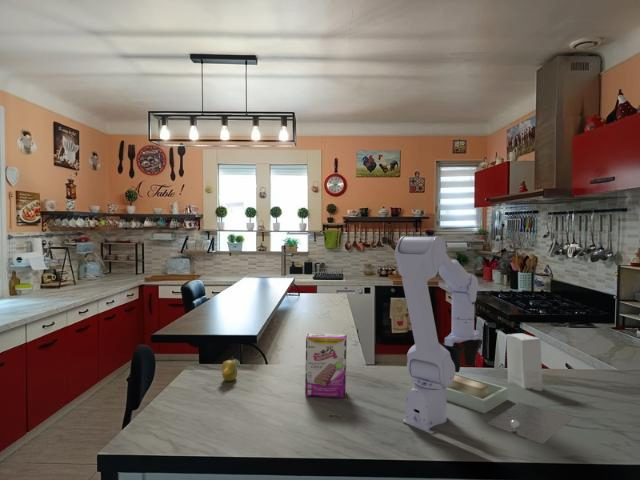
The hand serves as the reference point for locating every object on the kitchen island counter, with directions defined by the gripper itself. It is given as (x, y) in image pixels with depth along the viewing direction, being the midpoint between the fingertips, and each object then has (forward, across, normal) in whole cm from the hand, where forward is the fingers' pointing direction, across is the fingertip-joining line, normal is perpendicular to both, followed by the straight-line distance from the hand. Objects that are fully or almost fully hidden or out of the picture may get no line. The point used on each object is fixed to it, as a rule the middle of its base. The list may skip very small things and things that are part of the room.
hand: (462, 368), depth 107 cm
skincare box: (+8, +22, -7) cm, 25 cm away
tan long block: (+7, 0, 0) cm, 7 cm away
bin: (+8, 0, 0) cm, 8 cm away
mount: (+8, -2, -18) cm, 20 cm away
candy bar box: (+9, -26, +26) cm, 38 cm away
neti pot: (+9, -41, +53) cm, 67 cm away
